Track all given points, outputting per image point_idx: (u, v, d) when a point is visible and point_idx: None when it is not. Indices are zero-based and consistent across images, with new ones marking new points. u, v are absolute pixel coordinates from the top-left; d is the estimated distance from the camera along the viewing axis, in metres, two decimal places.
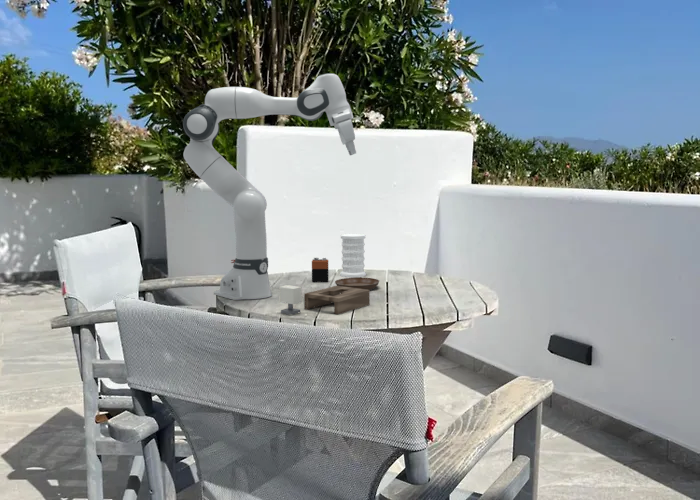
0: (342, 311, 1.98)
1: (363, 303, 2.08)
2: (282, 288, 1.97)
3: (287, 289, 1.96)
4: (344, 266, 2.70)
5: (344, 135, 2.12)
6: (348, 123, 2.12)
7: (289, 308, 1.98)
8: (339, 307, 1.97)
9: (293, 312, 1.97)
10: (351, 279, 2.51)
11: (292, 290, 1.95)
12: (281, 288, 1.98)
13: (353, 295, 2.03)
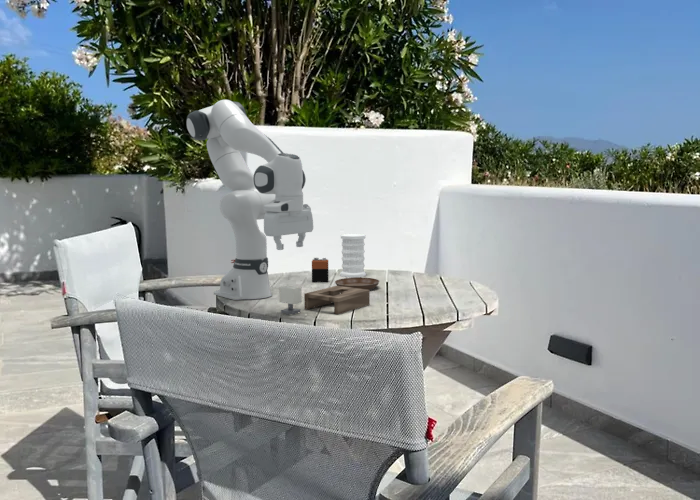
0: (342, 311, 1.98)
1: (363, 303, 2.08)
2: (282, 288, 1.97)
3: (287, 289, 1.96)
4: (344, 266, 2.70)
5: (264, 228, 1.89)
6: (272, 217, 1.87)
7: (289, 308, 1.98)
8: (339, 307, 1.97)
9: (293, 312, 1.97)
10: (351, 279, 2.51)
11: (292, 290, 1.95)
12: (281, 288, 1.98)
13: (353, 295, 2.03)
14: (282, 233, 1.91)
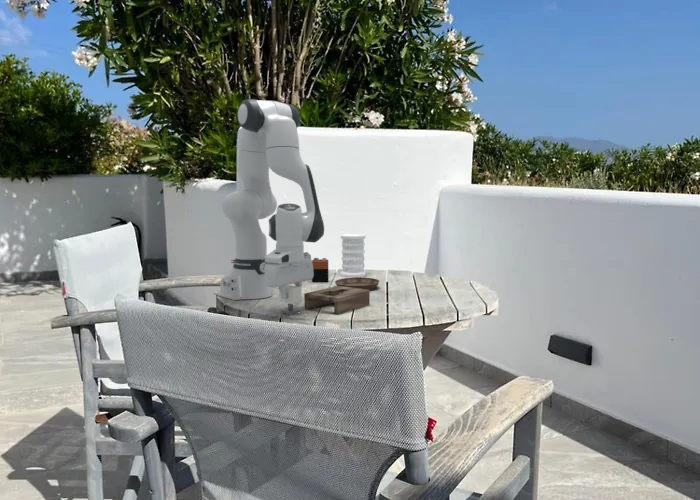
0: (342, 311, 1.98)
1: (363, 303, 2.08)
2: None
3: (287, 289, 1.96)
4: (344, 266, 2.70)
5: (265, 279, 1.91)
6: (272, 269, 1.89)
7: (289, 308, 1.98)
8: (339, 307, 1.97)
9: (293, 312, 1.97)
10: (351, 279, 2.51)
11: (292, 290, 1.95)
12: None
13: (353, 295, 2.03)
14: (283, 284, 1.92)
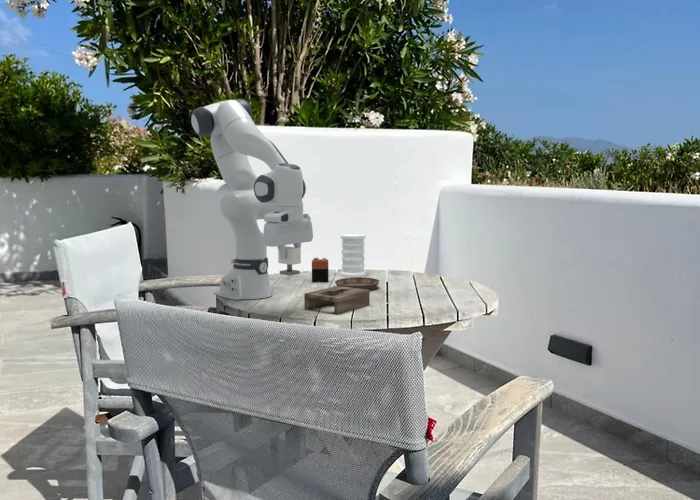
0: (342, 311, 1.98)
1: (363, 303, 2.08)
2: None
3: (286, 249, 1.95)
4: (344, 266, 2.70)
5: (264, 238, 1.89)
6: (272, 227, 1.87)
7: (288, 269, 1.97)
8: (339, 307, 1.97)
9: (292, 273, 1.95)
10: (351, 279, 2.51)
11: (291, 250, 1.94)
12: None
13: (353, 295, 2.03)
14: (282, 243, 1.91)
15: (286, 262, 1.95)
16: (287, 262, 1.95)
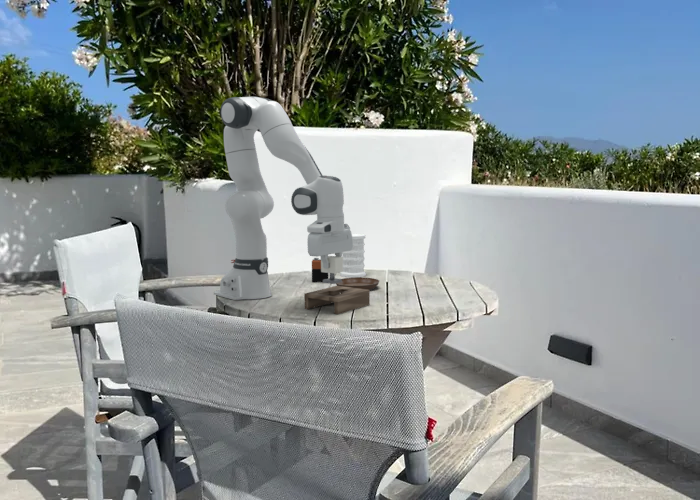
0: (342, 311, 1.98)
1: (363, 303, 2.08)
2: None
3: (329, 259, 2.01)
4: (344, 266, 2.70)
5: (308, 248, 1.95)
6: (315, 238, 1.94)
7: (331, 277, 2.03)
8: (339, 307, 1.97)
9: (335, 281, 2.02)
10: (351, 279, 2.51)
11: (334, 259, 2.00)
12: None
13: (353, 295, 2.03)
14: (325, 253, 1.97)
15: (329, 271, 2.02)
16: (330, 271, 2.01)
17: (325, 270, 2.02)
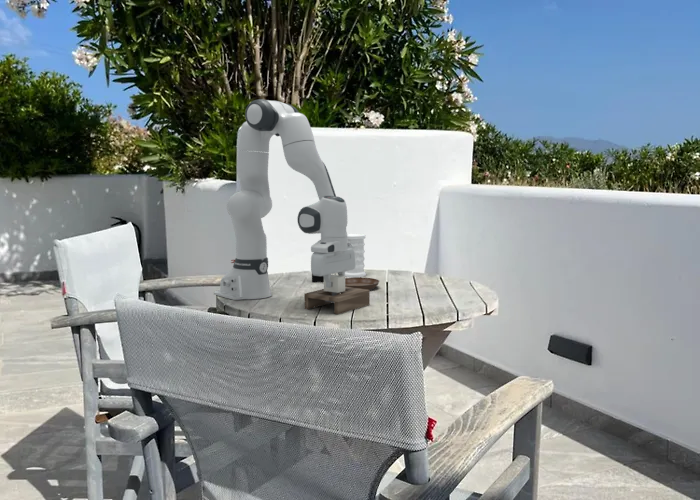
0: (342, 311, 1.98)
1: (363, 303, 2.08)
2: None
3: (332, 278, 2.03)
4: None
5: (311, 268, 1.98)
6: (319, 258, 1.96)
7: None
8: (339, 307, 1.97)
9: None
10: (351, 279, 2.51)
11: (337, 279, 2.02)
12: None
13: (353, 295, 2.03)
14: (328, 273, 2.00)
15: (331, 290, 2.04)
16: (332, 290, 2.04)
17: (328, 289, 2.05)
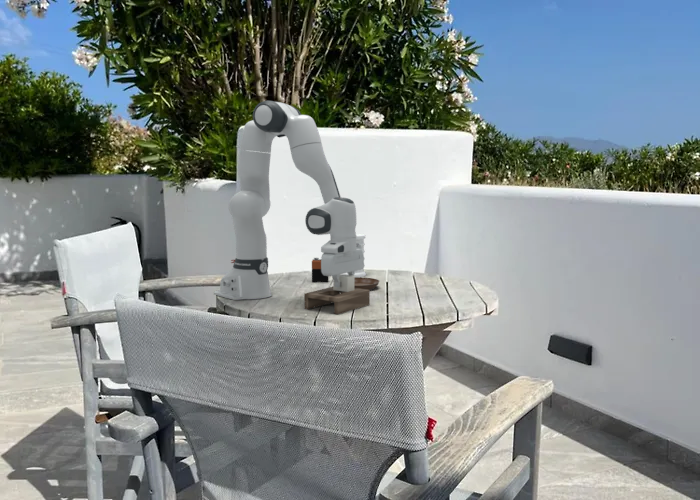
0: (342, 311, 1.98)
1: (363, 303, 2.08)
2: None
3: (341, 277, 2.08)
4: None
5: (321, 268, 2.02)
6: (329, 258, 2.00)
7: None
8: (339, 307, 1.97)
9: None
10: None
11: (346, 278, 2.07)
12: None
13: (353, 295, 2.03)
14: (338, 272, 2.04)
15: (341, 289, 2.08)
16: (342, 289, 2.08)
17: (337, 288, 2.09)
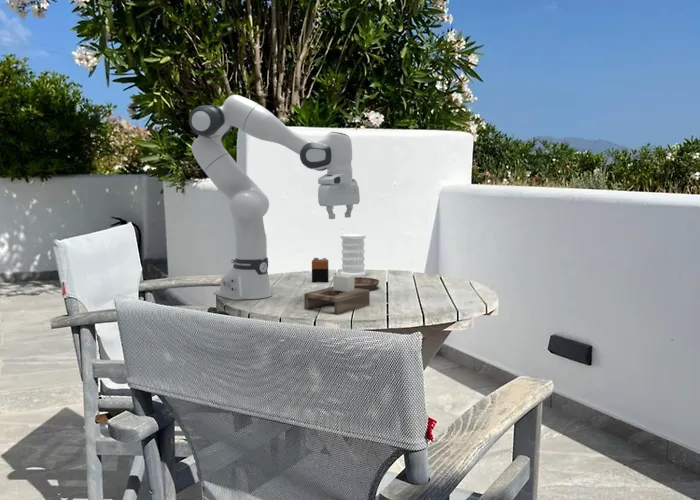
0: (342, 311, 1.98)
1: (363, 303, 2.08)
2: (336, 277, 2.09)
3: (341, 277, 2.08)
4: (344, 266, 2.70)
5: (318, 199, 2.09)
6: (326, 188, 2.08)
7: None
8: (339, 307, 1.97)
9: None
10: None
11: (346, 278, 2.07)
12: (335, 277, 2.09)
13: (353, 295, 2.03)
14: (334, 204, 2.11)
15: (341, 289, 2.08)
16: (342, 289, 2.08)
17: (337, 288, 2.09)
